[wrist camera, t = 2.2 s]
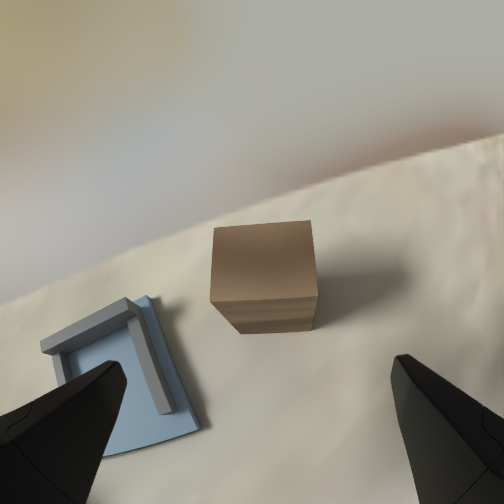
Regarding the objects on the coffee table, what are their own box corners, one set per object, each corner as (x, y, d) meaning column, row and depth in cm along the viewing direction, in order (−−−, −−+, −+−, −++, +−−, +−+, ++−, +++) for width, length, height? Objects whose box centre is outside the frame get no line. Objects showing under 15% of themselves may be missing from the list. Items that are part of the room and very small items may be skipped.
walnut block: (311, 330, 20) (318, 295, 13) (240, 334, 21) (209, 301, 14) (307, 278, 22) (310, 220, 15) (241, 282, 23) (214, 227, 16)
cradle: (201, 428, 18) (184, 433, 15) (90, 459, 17) (65, 463, 14) (150, 298, 23) (131, 283, 20) (57, 344, 22) (33, 336, 19)
